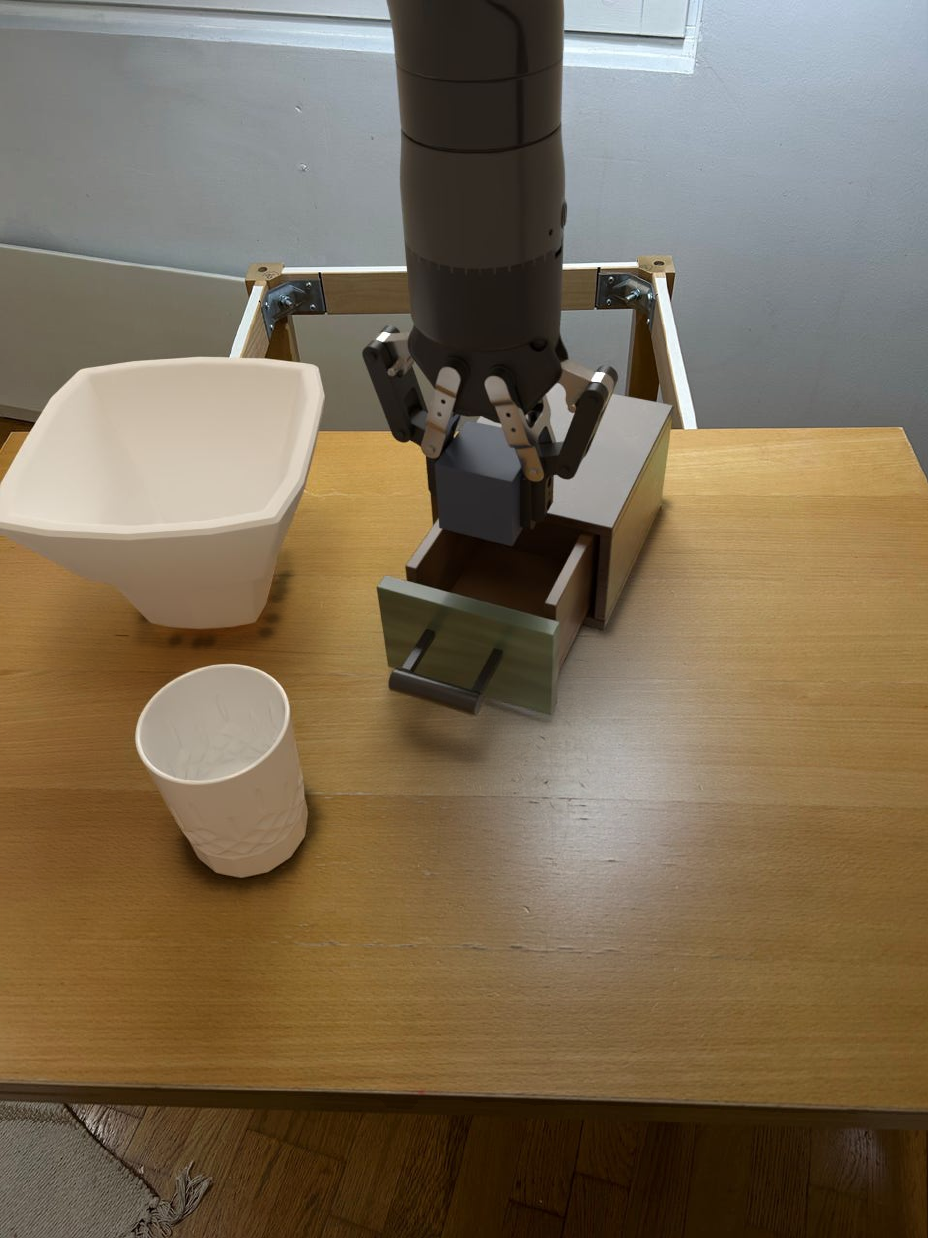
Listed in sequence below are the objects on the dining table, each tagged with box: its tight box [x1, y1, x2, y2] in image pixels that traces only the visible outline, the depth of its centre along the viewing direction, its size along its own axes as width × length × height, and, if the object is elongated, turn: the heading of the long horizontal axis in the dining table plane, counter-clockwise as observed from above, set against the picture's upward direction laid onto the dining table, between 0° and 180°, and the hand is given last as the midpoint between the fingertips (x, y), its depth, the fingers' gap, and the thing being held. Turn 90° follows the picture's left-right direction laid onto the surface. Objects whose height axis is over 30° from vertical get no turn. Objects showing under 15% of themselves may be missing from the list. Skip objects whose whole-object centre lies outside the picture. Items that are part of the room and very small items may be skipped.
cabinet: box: [429, 383, 675, 631], centre depth 71 cm, size 15×13×9 cm
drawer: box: [376, 518, 600, 717], centre depth 63 cm, size 18×11×7 cm, turn 157°
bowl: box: [0, 356, 326, 630], centre depth 67 cm, size 19×19×14 cm
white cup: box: [134, 663, 309, 879], centre depth 54 cm, size 8×8×10 cm
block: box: [435, 419, 524, 546], centre depth 57 cm, size 5×5×5 cm
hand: (490, 509), depth 58 cm, fingers closed on block, 4 cm apart
